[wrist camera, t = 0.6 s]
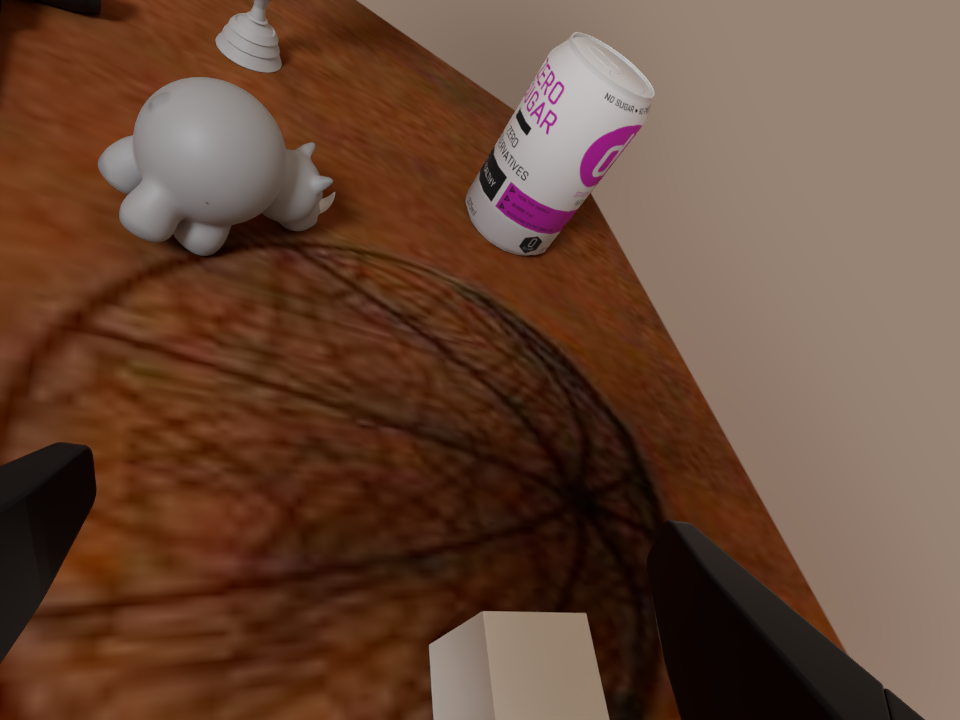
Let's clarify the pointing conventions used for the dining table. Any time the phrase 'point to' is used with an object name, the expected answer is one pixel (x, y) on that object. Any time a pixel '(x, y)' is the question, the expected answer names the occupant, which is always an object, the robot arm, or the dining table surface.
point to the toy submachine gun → (75, 5)
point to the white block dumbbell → (517, 669)
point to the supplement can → (558, 144)
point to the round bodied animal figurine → (210, 167)
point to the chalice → (251, 40)
